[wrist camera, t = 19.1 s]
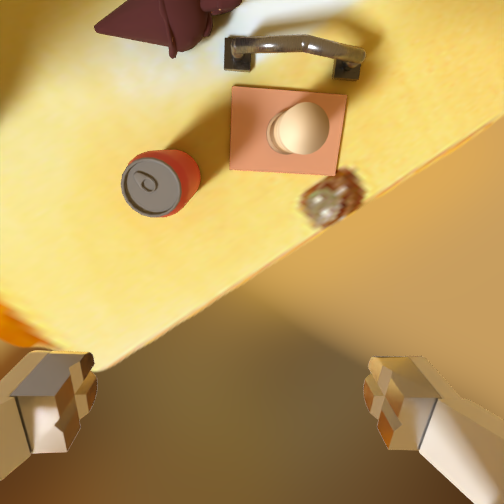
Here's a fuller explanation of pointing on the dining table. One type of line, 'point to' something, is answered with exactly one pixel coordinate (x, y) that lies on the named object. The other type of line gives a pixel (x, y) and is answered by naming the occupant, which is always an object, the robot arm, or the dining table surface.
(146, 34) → the icecream
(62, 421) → the robot arm
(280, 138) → the birch post
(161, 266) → the dining table surface
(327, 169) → the tile
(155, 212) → the beer can
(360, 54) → the bent metal handle
